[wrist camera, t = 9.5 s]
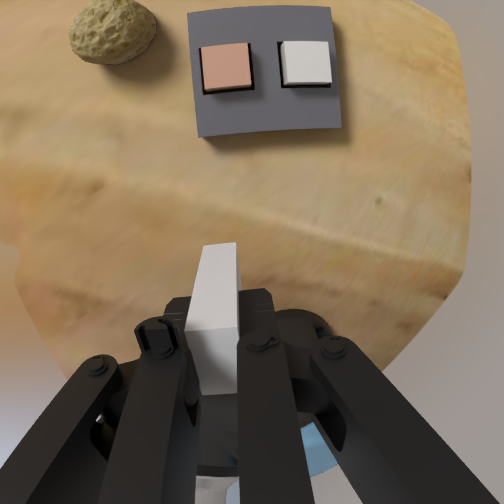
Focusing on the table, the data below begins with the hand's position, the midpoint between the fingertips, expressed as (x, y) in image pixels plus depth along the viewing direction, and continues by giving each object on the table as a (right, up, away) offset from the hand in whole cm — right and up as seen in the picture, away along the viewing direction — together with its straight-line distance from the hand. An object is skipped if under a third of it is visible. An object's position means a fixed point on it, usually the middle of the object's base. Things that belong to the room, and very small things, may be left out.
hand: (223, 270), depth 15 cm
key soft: (+7, +23, +18) cm, 30 cm away
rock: (-16, +29, +16) cm, 37 cm away
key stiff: (-2, +22, +18) cm, 29 cm away
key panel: (+3, +23, +19) cm, 30 cm away
